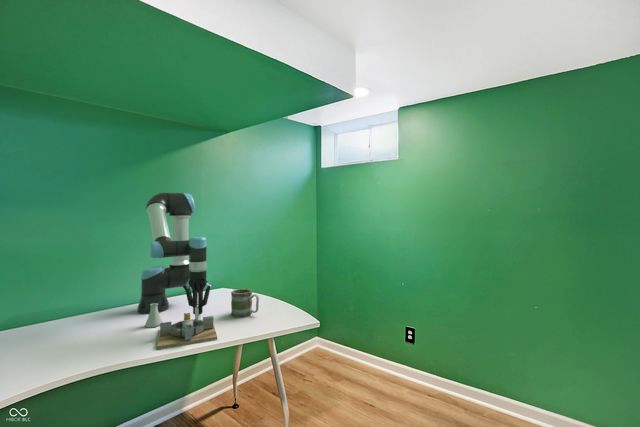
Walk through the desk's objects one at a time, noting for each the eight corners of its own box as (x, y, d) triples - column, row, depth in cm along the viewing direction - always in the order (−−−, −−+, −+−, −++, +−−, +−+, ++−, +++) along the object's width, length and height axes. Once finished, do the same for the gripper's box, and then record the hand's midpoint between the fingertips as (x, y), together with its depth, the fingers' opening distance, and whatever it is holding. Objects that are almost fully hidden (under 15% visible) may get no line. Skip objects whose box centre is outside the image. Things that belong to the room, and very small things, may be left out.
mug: (226, 316, 153) (226, 292, 153) (239, 310, 163) (239, 288, 163) (252, 320, 147) (252, 295, 147) (264, 313, 157) (264, 290, 157)
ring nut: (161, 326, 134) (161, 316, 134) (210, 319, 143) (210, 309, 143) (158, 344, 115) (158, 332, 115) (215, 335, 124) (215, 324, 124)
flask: (155, 328, 136) (155, 306, 136) (141, 327, 138) (141, 305, 138) (166, 323, 143) (166, 302, 143) (153, 322, 145) (153, 301, 145)
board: (160, 329, 134) (160, 317, 134) (211, 322, 144) (211, 310, 144) (157, 349, 115) (157, 334, 115) (217, 339, 124) (217, 325, 124)
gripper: (180, 271, 135) (180, 323, 135) (208, 271, 135) (208, 324, 135) (188, 268, 143) (188, 318, 143) (214, 268, 142) (214, 318, 142)
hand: (197, 320), depth 139 cm, fingers closed
